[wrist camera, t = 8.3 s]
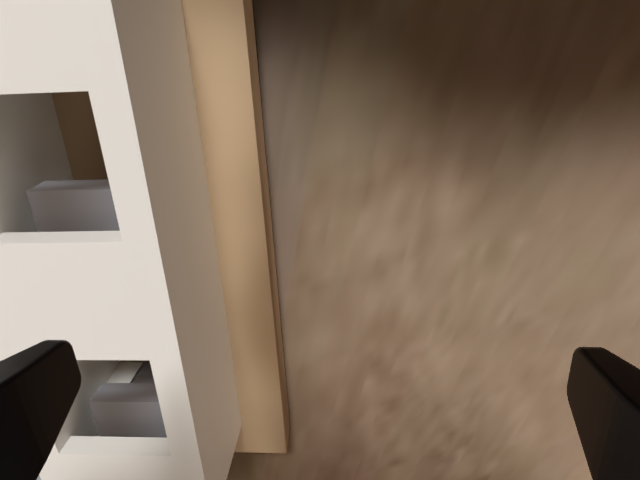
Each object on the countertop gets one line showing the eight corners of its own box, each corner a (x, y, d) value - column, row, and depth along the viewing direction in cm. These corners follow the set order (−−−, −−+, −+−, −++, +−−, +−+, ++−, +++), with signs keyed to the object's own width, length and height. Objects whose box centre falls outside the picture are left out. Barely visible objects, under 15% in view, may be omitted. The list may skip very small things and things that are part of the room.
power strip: (-5, -7, 16) (-148, -15, 11) (178, -17, 15) (105, -29, 11) (115, 422, 23) (57, 521, 19) (241, 424, 23) (213, 526, 18)
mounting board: (249, -26, 17) (208, -41, 12) (290, 429, 25) (275, 524, 20) (-34, -10, 17) (-177, -19, 13) (96, 426, 26) (39, 517, 21)
